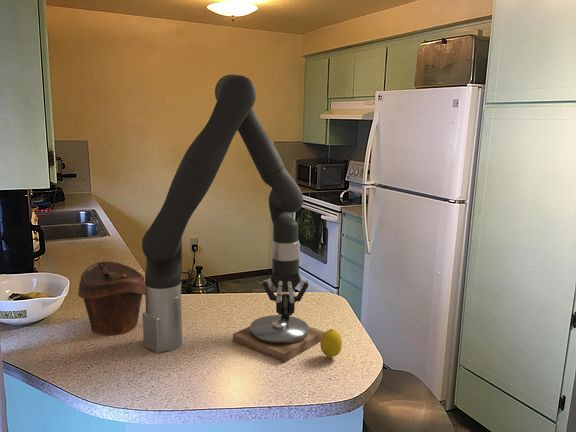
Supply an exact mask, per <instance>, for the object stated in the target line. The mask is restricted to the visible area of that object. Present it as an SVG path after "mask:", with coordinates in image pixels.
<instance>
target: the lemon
mask: <svg viewBox="0 0 576 432" xmlns="http://www.w3.org/2000/svg"><path fill="white" fill-rule="evenodd" d="M319 343H320V349H321V352H322V354H323V355H325V356H326V357H328V358H329V359H332V358H334V357H336V356H338V355H339V354H340V352H341V350H342V347H343V339H342V336H341V334H340V332H339V331H337V330H336V329H334V328H330V329H327V330H326V331H324V333H323V335H322V338H321V342H319Z"/></svg>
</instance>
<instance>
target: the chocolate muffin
mask: <svg viewBox="0 0 576 432" xmlns="http://www.w3.org/2000/svg"><path fill="white" fill-rule="evenodd" d="M78 285H79V286H78V289H77V290H78V293H77V295H78V297H80V298H81V299H83V302H84V306H85V309H86V313H87V317H88V322H89V323H90V328H91V331H92V332H93V333H94V334H97V335H102V336H117V335H123V334H126V333H128V332H130V331H132V330H135V328H136V327H137V325H138V322H139V316H140V310H141V309H140V308H141V305H142V301H143V296H145V276H143V275H142V274H141V273H140V272H139V271H137V270H136V269H134V268H132V267H130V266H128V265H125V264H122V263H119V262H114V261H98V262H95V263H94V264H91V265H90V266H89V267H87V268H86V269H85V270H84V271H83V272H82V274H81V276H80V279H79V283H78Z"/></svg>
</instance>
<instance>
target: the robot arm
mask: <svg viewBox="0 0 576 432" xmlns="http://www.w3.org/2000/svg"><path fill="white" fill-rule="evenodd" d="M214 88H215V89H214V96H215V100H216V103H215V105H214V107H213V111H212V112H211V115H210V117H209V119H208V121H207V123H206V124H205V126H204V127H203V129H202V130H201V131H200V132H199V133H198V135H197V136H196V137H195V139H193V141H192V142H191V144H190V145H189V146H188V148H187V149H186V151H185V153H184V155H183V157H182V159H181V161H180V163H179V165H178V167H177V169H176V171H175V174H174V176H173V178H172V181H171V183H170V186H169V188H168V191H167V194H166V197H165V200H164V202H163V204H162V206H161V208H160V210H159V212H158V213H157V216H156V217H155V219H154V220H153V221H152V222H151V223H152V224H151V225H150V226H149V228H148V229H147V230H146V231H145V233H144V235H143V236H142V240H141V249H142V252H143V255H144V256H145V258H146V264H145V265H146V267H145V271H144V272H145V273H144V281H145V295H144V296H145V311H144V312H143V313H142V337H143V341H142V342H143V344H142V345H143V347H144V348H147V349H148V350H150V351H152V352H155V353H157V354H159V353H162V352H170V351H173V350H174V351H175V350H176V349H178V348H180V346H182V343H183V336H182V335H183V332H182V331H183V330H182V329H183V328H182V325H183V324H182V317H183V316H182V272H183V271H182V270H183V241H182V240H183V239H182V237H183V234H184V232H185V229H186V227H187V225H188V223H189V221H190V219H191V217H192V215H193V214H194V213H195V211H196V209H197V208H198V206H199V205H200V204H201V202H202V201H203V199H204V197H205V196H206V194H207V193H208V191H209V189H210V187H211V185H212V184H213V182H214V180H215V178H216V176H217V174H218V172H219V170H220V169H221V168H220V167H221V166H222V163H223V161H224V160H225V157H226V154H227V153H228V151H229V148H230V146H231V144H232V141H233V139H234V137H235V135H236V133H237V132H238V133H239V135H240V137H241V138H242V142H243V143H244V145H245V148H246V149H247V151H248V153H249V155H250V158H251V159H252V162H253V164H254V166H255V168H256V170H257V172H258V174H259V176H260V178H261V180H262V182H264V183H265V184H266V185H268V186H269V187H271V190H270V192H269V194H268V207H269V212H270V217H271V221H272V225H273V228H272V229H273V233H272V234H273V236H272V239H273V241H272V248H271V249H272V255H271V256H272V258H271V259H272V263H271V264H272V265H271V266H272V275H271V276H270V278H268V279H263V281H262V286H263V288H264V291H265V292H266V295H267V296H268V298H269V300H270V301H271V302H272V301H273V302H275V312H276V313H277V314H278V315H281V305H282V294H283V292H287V293H289V296H290V303H289V315H290V316H292V315H293V314H295V309H296V307H295V305H296V304H295V303H296V302H301V300H302V298H303V297H304V294H305V293H306V291H307V289H308V287H309V283H310V282H309V281H308V280H303V279H302V278H301V276H300V245H299V224H298V222H297V221H296V220H295V219H294V217H293V213H296V212H299V211H300V210H301V208H302V207H303V203H304V196H303V191H302V190H301V188H300V186H299V185H298V183H297V181H295V180H294V178H293V177H292V175H291V174H290V173H289V172H288V170H287V168H286V166H285V164H284V162H283V160H282V158H281V155H280V153H279V151H278V149H277V148H276V145H275V144H274V143H273V141H272V139H271V138H270V137H269V135H268V134H267V132H266V130H265V128H264V127H263V126H262V124H261V122H260V121H259V118H258V117H257V114H256V111H255V109H254V105H255V103H256V99H257V89H256V87H255V84H254V83H253V81H252V80H251V79H250V78H249V77H246V76H244V75H240V74H227V75H224V76H222V77H220V79H219V80H218V81H217V83H216V84H215V87H214ZM272 284H273V286H274V287H275V288H276V290H277V291H276V295H275V292H274V291H273V289H272V287H271V286H272ZM298 285H299V287H300V289H299V291H298V293H297V295H295V289H296V287H297V286H298Z"/></svg>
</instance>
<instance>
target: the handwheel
mask: <svg viewBox="0 0 576 432" xmlns="http://www.w3.org/2000/svg"><path fill="white" fill-rule="evenodd" d="M281 301H282V305H281V315H279V314H274V315H273V314H272V315H265V316H261V317H259V318H256V319H254V320H253V321H252V322H251V324H250V325H249V326H250V333H251V335H252V337H254V338H255V339H257V340H259V341H261V342H264V343H269V344H291V343H296V342H299V341H301V340H303V339H305V338H306V337H307V335H308V326H309V325H308V324H307V323H306V321H305V320H302V319H300V318H299V317H295V316H292V315H289V303H290V296H289V292H287V293H286V292H282V295H281Z"/></svg>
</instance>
